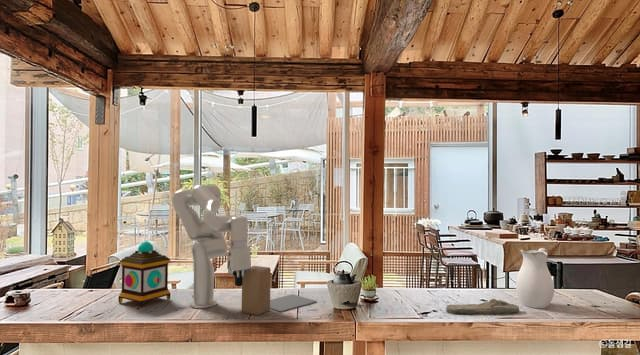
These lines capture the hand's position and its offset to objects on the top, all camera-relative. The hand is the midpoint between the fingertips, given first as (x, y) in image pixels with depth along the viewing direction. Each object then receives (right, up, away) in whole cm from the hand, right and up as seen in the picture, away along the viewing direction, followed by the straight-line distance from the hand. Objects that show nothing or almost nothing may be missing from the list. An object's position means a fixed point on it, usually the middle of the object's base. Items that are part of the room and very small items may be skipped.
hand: (238, 285), depth 185 cm
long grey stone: (+113, -16, +10) cm, 114 cm away
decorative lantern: (-51, -14, +21) cm, 57 cm away
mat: (+20, -14, +21) cm, 32 cm away
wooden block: (+7, -14, +7) cm, 17 cm away
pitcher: (+146, -16, +24) cm, 149 cm away
